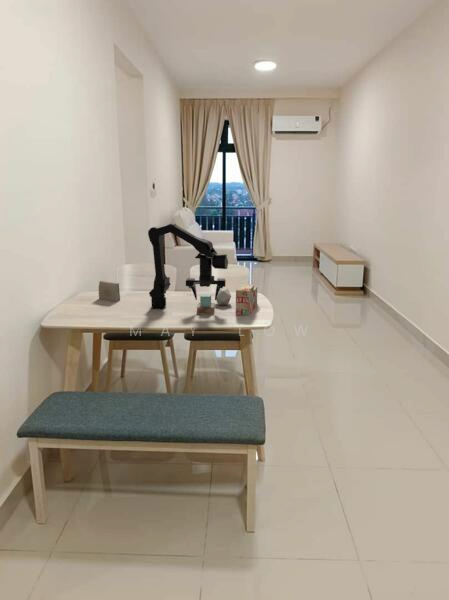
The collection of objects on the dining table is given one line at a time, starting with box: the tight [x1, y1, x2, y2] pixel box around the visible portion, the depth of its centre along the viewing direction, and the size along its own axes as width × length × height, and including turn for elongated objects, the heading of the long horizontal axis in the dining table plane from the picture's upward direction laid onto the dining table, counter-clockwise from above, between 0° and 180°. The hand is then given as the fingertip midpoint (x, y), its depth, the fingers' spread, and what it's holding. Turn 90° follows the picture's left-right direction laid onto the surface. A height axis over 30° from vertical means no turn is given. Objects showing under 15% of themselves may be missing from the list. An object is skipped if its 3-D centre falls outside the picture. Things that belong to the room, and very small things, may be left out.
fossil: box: [98, 280, 121, 303], centre depth 233 cm, size 12×4×10 cm, turn 62°
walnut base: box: [196, 302, 215, 315], centre depth 215 cm, size 8×8×3 cm
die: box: [215, 288, 232, 306], centre depth 227 cm, size 8×9×10 cm
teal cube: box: [199, 293, 212, 307], centre depth 214 cm, size 5×5×5 cm
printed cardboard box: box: [235, 283, 258, 316], centre depth 218 cm, size 21×6×12 cm, turn 165°
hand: (205, 299), depth 214 cm, fingers open, 9 cm apart
